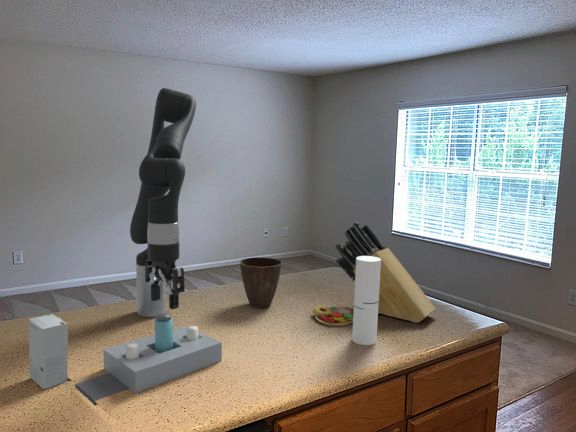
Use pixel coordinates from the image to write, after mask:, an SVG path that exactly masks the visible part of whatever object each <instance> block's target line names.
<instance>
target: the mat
mask: <svg viewBox="0 0 576 432" xmlns="http://www.w3.org/2000/svg"><path fill="white" fill-rule="evenodd" d="M75 389H76V390H77V391H78V392H80V394H82V395H83V396H84V397H85V398H86V397H87V398H88V399H87V398H86V399H87V400H88V401H89V402H90V403H92V404H93V405H94V406H96V405H98V403H97V402H96V401H99V400H101V399H104V398H107V397H109V396H112V395H115V394H117V393H120V392H122V391H126V390H130V388H129V387H127V386H126V385H125V384H123V383H122V382H121V381H119V380H118V379H117V378H116V377H114V376H113V375H112V374H110V373H109V372H107V373H105V374H102V375H99V376H95V377H93V378H90V379H89V378H88V379H87V380H84V381H80V382H78V383H75Z"/></svg>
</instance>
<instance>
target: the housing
mask: <svg viewBox="0 0 576 432" xmlns="http://www.w3.org/2000/svg"><path fill="white" fill-rule="evenodd" d="M189 326H190V325H186V324H185V325H183V326H179V327H176V328H173V349H172V350H169V351H166V352H163V353H160V354H159V353H158V352H156V351H155V334H151V335H148V336H146V337H141V338H139V339H134V340H131V341H127V342H124V343H121V344H117V345H114V346H110V347H107V348H104V349H103V369H104V370H105V371H106V372H107V373H110V374H112V375H113V376H114V377H116V378H117V379H118V380H119V381H121V382H122V383H123V384H125V385H126V386H127V387H129V390H131V391H132V392H133V393H135V394H138V393H140V392H143V391H145V390H149V389H151V388H154V387H157V386H158V385H162V384H164V383H166V382H169V381H172V380H175V379H177V378H180V377H182V376H185V375H188V374H191V373H193V372H196V371H199V370H201V369H204V368H206V367H209V366H212V365H215V364H217V363H220V362H222V360H223V359H222V356H223V355H222V352H223V351H222V349H223V348H222V345H223V342H221V341H220V340H217V339H216V338H214V337H212V336H210V335H207V334H205V333H203V332H201V331H200V330H198V339H196V340H193V341H189V340H187V327H189ZM133 343H135V344H138V345H139V358H137V359H134V360H130V361H128V360H126V345H128V344H133Z"/></svg>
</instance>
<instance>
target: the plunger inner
mask: <svg viewBox="0 0 576 432" xmlns="http://www.w3.org/2000/svg"><path fill="white" fill-rule="evenodd" d="M188 326H189V327H187V340H189V341H193V340H196V339H198V331H199V327H198V326H196V325H188Z"/></svg>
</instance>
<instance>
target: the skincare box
mask: <svg viewBox="0 0 576 432" xmlns="http://www.w3.org/2000/svg"><path fill="white" fill-rule="evenodd" d="M68 331H69V330H68V323H67V322H66V321H64V320H63V319H62V318H60V317H58V316H56V315H55V314H52V313H51V314H47V315H42V316H37V317H32V318H29V319H28V352H29V353H28V355H29V356H28V362H29V363H28V367H29V368H28V369H29V370H28V372H29V379H31V380H32V381H34V383H36V384H37V385H38V386H39V387H40V388H41V389H42V390H46V389H50V388H52V387H54V386H58V385H61V384H64V383H67V382H68V381H69V380H68V378H69V377H68V372H69V371H68V369H69V368H68V361H69V360H68V355H69V354H68V344H69V343H68V341H69V340H68V337H69V336H68V333H69V332H68Z"/></svg>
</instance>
